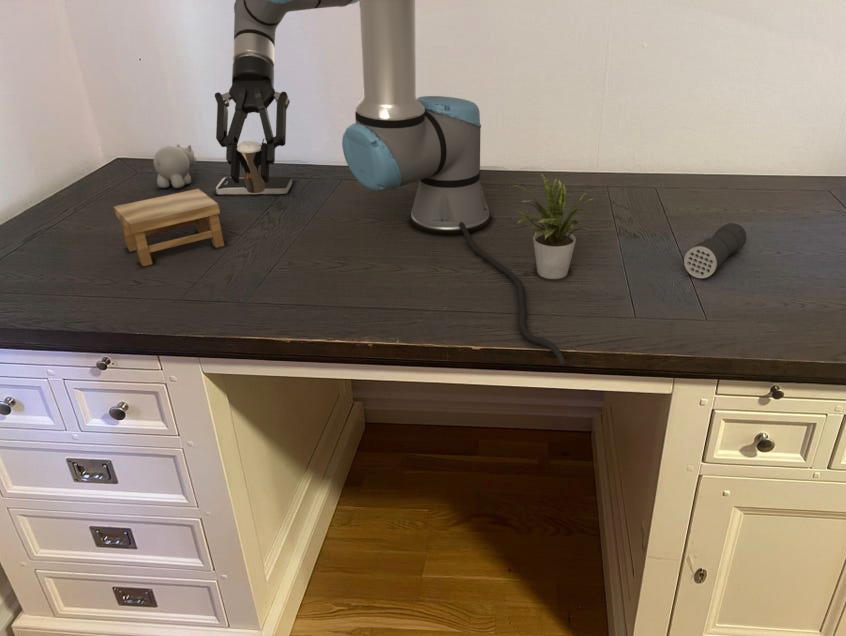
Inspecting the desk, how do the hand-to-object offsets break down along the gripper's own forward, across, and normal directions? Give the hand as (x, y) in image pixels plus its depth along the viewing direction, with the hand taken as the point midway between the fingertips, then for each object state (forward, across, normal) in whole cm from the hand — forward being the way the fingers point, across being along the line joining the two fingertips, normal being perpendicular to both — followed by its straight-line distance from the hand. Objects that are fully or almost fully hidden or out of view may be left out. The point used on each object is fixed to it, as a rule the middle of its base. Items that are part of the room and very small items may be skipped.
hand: (249, 179), depth 131 cm
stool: (+12, +14, -2) cm, 18 cm away
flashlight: (+20, -82, +5) cm, 85 cm away
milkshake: (0, 0, -5) cm, 5 cm away
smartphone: (-10, +6, -24) cm, 27 cm away
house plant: (+21, -52, +6) cm, 57 cm away
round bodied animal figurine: (-14, +23, -28) cm, 39 cm away
